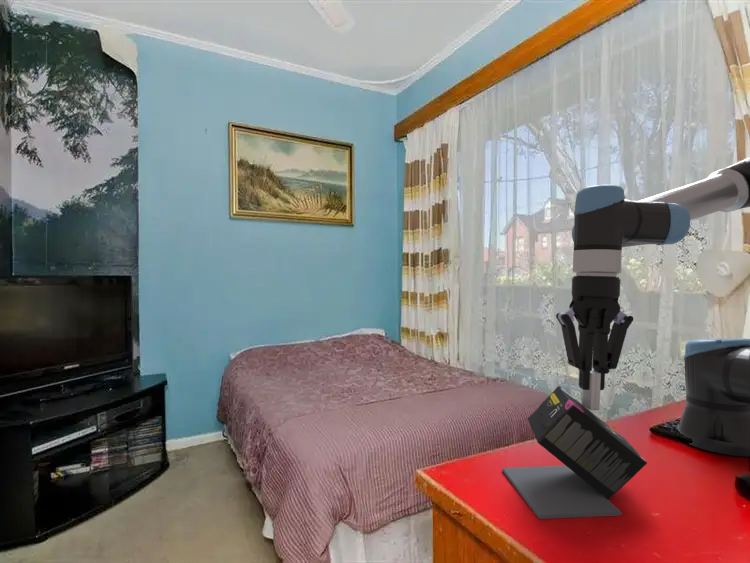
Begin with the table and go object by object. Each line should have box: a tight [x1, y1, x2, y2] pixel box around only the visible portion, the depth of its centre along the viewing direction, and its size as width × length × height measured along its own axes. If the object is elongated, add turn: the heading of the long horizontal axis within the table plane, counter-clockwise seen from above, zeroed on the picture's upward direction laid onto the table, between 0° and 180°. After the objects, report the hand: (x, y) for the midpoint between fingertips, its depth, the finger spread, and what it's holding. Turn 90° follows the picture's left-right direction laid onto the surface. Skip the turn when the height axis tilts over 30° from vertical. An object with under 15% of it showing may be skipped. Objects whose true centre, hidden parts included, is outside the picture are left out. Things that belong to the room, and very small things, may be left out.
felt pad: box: [501, 464, 622, 520], centre depth 71 cm, size 13×16×1 cm
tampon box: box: [527, 385, 648, 501], centre depth 72 cm, size 11×9×15 cm
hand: (590, 407), depth 72 cm, fingers closed
